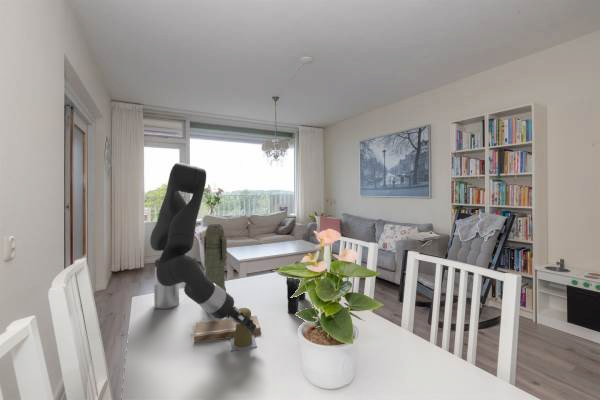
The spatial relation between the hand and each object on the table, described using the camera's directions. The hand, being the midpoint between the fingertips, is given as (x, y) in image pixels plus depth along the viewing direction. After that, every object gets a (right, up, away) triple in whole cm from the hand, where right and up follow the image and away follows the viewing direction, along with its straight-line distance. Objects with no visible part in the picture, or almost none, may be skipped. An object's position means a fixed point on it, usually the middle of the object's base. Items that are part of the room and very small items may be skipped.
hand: (246, 324), depth 97 cm
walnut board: (-8, -5, +7) cm, 12 cm away
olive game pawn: (-1, -6, -1) cm, 6 cm away
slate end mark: (-1, -6, -1) cm, 6 cm away
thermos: (-19, -4, +29) cm, 35 cm away
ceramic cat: (+16, -5, +29) cm, 34 cm away
